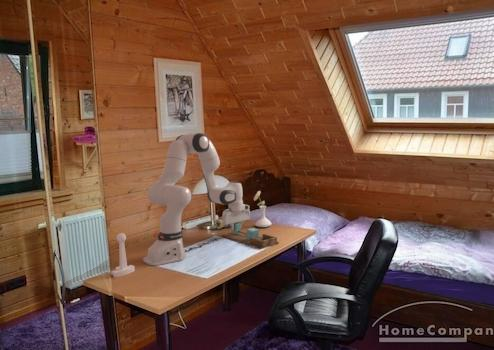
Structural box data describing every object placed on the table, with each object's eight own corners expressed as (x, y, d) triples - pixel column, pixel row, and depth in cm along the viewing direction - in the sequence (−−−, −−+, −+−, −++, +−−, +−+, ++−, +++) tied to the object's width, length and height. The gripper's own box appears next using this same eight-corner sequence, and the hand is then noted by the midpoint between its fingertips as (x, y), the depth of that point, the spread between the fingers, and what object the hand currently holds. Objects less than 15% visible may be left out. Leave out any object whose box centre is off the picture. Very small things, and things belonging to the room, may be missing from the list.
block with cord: (252, 241, 245) (252, 231, 244) (231, 232, 259) (231, 223, 258) (258, 239, 248) (258, 229, 247) (237, 231, 263) (238, 221, 261)
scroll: (222, 229, 272) (245, 223, 286) (219, 218, 274) (241, 212, 287) (216, 232, 278) (238, 226, 291) (212, 221, 279) (235, 216, 293)
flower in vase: (263, 223, 290) (262, 188, 287) (275, 226, 282) (274, 189, 278) (249, 227, 281) (248, 190, 278) (261, 230, 273) (260, 192, 270)
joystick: (116, 277, 196) (113, 236, 194) (107, 274, 201) (104, 234, 199) (136, 271, 204) (133, 231, 202) (127, 267, 209) (125, 229, 207)
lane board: (261, 249, 233) (260, 242, 233) (221, 236, 260) (221, 230, 260) (278, 243, 242) (278, 237, 242) (238, 232, 269) (238, 226, 269)
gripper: (225, 210, 248) (226, 233, 250) (251, 205, 261) (252, 226, 263) (219, 209, 253) (220, 231, 255) (244, 204, 266) (245, 225, 268)
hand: (236, 229), depth 259 cm, fingers closed on block with cord, 3 cm apart
